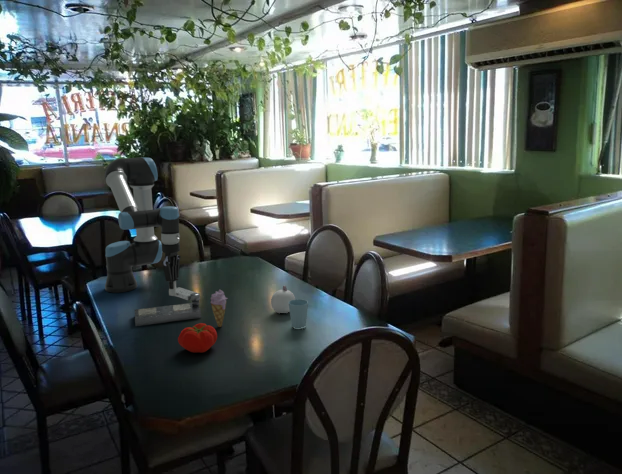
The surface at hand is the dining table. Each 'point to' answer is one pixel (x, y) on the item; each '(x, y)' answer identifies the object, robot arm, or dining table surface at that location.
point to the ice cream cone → (218, 306)
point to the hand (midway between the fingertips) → (173, 295)
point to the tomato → (198, 338)
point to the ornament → (282, 300)
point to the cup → (298, 312)
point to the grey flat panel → (187, 294)
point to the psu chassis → (167, 313)
